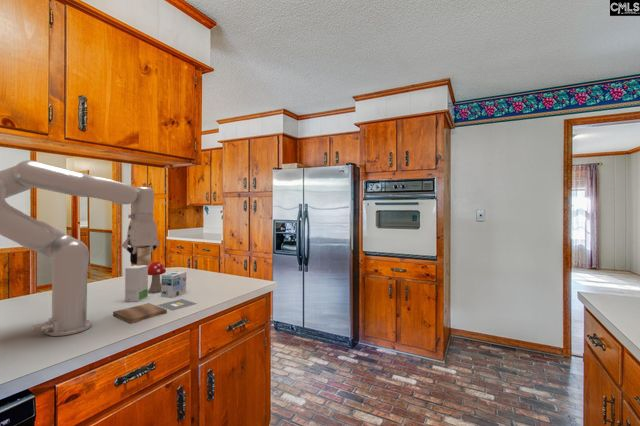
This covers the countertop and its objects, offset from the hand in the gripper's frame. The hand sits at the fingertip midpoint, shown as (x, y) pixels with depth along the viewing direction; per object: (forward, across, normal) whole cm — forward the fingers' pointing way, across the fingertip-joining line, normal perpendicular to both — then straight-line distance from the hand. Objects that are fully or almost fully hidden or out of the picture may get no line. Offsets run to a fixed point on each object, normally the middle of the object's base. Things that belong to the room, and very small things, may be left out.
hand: (141, 262), depth 124 cm
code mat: (+21, +16, 0) cm, 27 cm away
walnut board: (+21, 0, 0) cm, 21 cm away
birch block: (+1, 0, 0) cm, 1 cm away
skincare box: (+21, +9, +22) cm, 32 cm away
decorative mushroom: (+21, +22, +29) cm, 42 cm away
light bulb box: (+21, +24, +16) cm, 36 cm away
